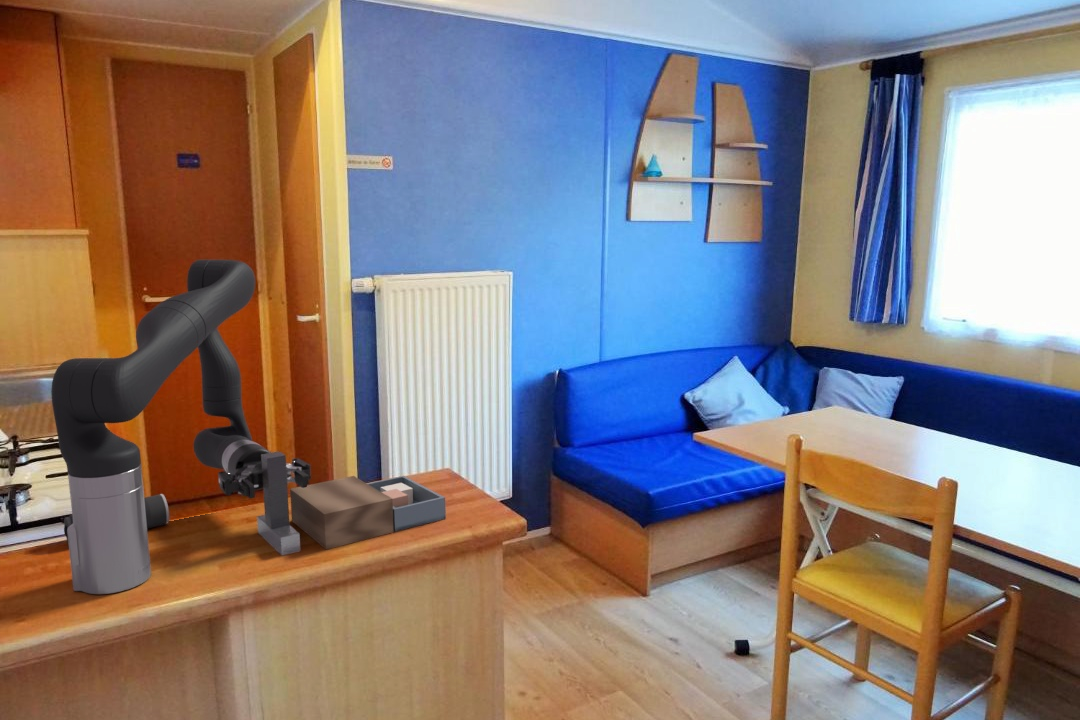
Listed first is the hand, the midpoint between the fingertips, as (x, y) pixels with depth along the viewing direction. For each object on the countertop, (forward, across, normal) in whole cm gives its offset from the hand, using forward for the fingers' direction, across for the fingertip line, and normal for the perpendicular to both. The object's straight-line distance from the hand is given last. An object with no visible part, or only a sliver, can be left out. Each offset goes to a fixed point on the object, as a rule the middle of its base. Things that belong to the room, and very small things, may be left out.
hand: (279, 486), depth 123 cm
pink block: (+1, +18, +7) cm, 20 cm away
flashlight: (-23, -20, +10) cm, 32 cm away
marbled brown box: (-2, +11, +10) cm, 15 cm away
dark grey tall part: (-2, 0, +10) cm, 10 cm away
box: (-2, +22, +10) cm, 25 cm away
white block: (-5, +23, +6) cm, 25 cm away
